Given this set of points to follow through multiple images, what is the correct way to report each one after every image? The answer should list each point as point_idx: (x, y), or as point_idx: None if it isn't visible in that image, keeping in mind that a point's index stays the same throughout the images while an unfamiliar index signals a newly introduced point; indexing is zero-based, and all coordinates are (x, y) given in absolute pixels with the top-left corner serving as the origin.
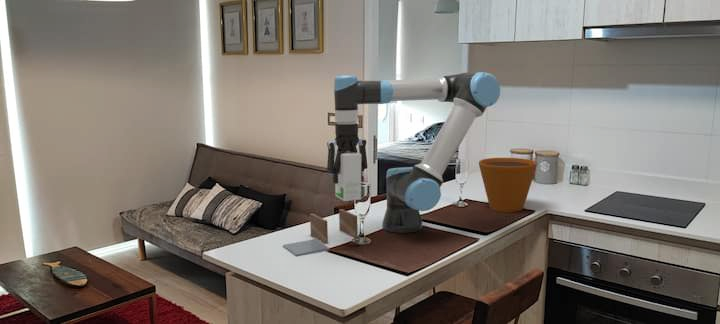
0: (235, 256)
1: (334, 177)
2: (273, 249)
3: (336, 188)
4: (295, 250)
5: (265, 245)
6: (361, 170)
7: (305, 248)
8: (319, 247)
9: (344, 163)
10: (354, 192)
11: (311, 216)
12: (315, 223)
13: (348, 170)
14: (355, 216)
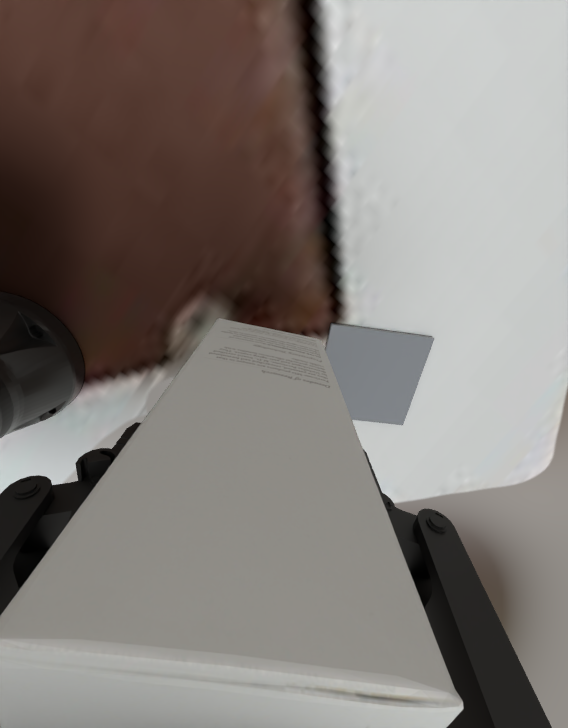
0: (523, 427)
1: (375, 481)
2: (431, 417)
3: None
4: (412, 368)
5: (423, 452)
6: (109, 465)
7: (382, 365)
8: (349, 348)
9: (390, 525)
10: (258, 339)
11: None
12: None
13: (316, 442)
14: None
